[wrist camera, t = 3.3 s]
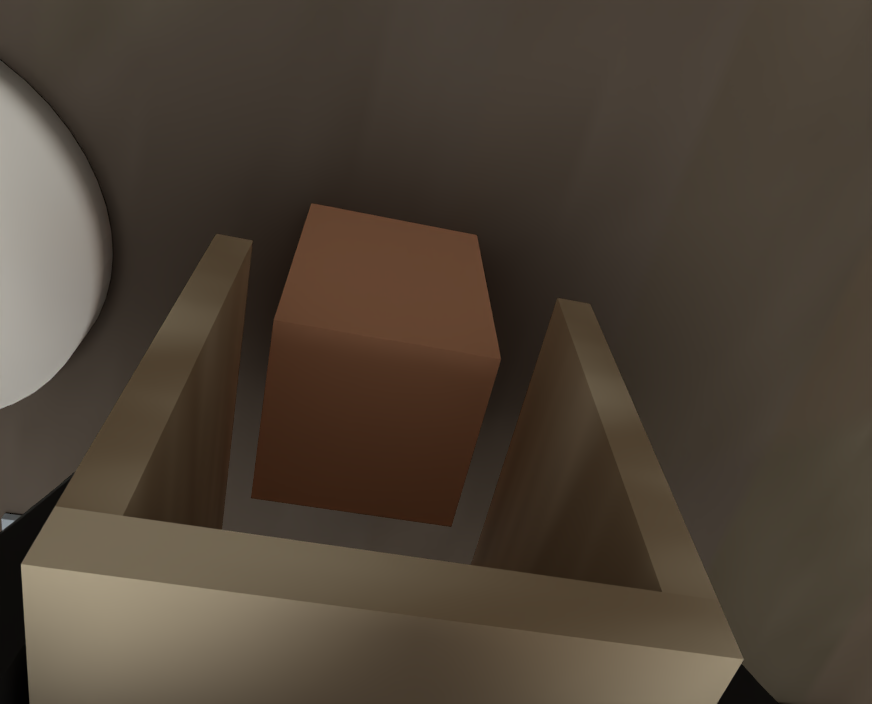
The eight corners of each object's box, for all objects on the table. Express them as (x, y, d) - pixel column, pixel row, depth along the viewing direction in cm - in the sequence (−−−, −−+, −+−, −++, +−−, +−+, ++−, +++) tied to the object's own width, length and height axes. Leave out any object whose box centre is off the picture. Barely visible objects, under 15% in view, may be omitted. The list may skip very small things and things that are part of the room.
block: (476, 234, 16) (501, 359, 12) (441, 373, 18) (451, 526, 13) (311, 202, 16) (273, 319, 11) (290, 347, 17) (251, 498, 13)
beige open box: (590, 304, 12) (744, 660, 6) (490, 591, 14) (534, 1003, 9) (216, 233, 11) (20, 564, 5) (190, 550, 14) (45, 970, 8)
